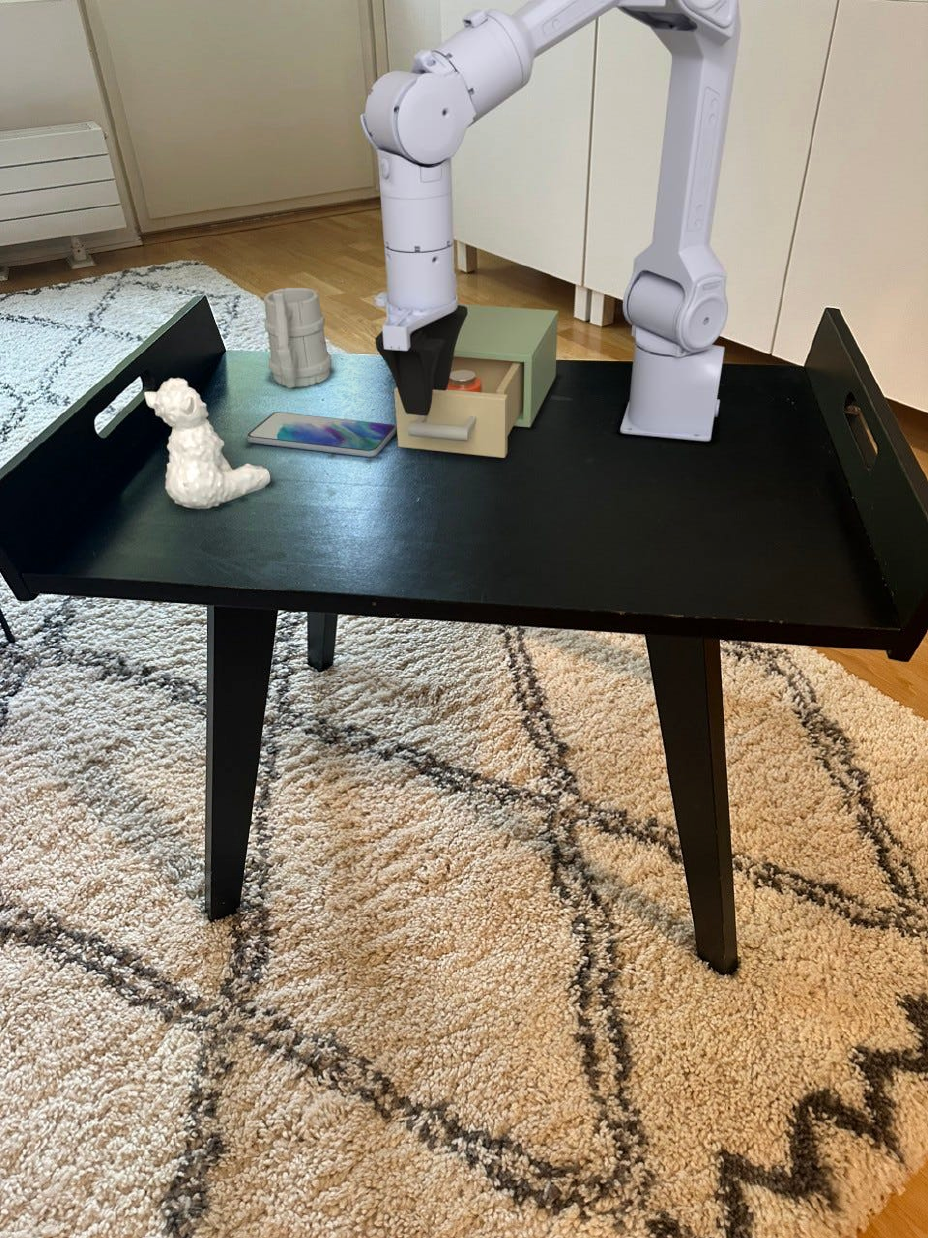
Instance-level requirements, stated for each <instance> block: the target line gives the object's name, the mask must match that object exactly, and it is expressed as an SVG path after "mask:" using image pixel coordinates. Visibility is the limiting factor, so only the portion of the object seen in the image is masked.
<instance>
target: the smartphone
mask: <svg viewBox="0 0 928 1238" xmlns="http://www.w3.org/2000/svg"><path fill="white" fill-rule="evenodd" d="M396 434H397V425H395V424H391V423H383V422H373V421H365V420H357V419H356V420H355V419H348V418H347V419H346V418H337V417H329V416H319V415H312V414H311V415H310V414H301V413H293V412H282V411H275V412H272V413H271V414H269V415H268V416H266V418H264V419H263V420H262V421H261V422H260V423H258V424H257V426H255V427H254V428H252V429H251V430H250V431H249V432H248V433H247V434H246V441H247V442H248V443H251V444H258V445H267V446H274V447H283V448H292V449H301V450H307V451H315V452H325V453H332V454H336V455H345V456H353V457H361V458H374V457H376V456H377V455H378V454H379V453H380V452H381V451H382V450H383V449H384V447H385V446H386V445H387V444H388V443H389V442H390V440H391V439H392V438H393V437H394V436H395V435H396Z"/></svg>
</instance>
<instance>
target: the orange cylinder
mask: <svg viewBox="0 0 928 1238" xmlns="http://www.w3.org/2000/svg"><path fill="white" fill-rule="evenodd" d="M447 390H458V391H469V392H480V393H482V382H481V380H480V379H479V378H477V377H476V375H475V373H474V372H472V371H468V370H458V371H453V372H451V373H450V379H449V383H448V387H447Z"/></svg>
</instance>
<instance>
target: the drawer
mask: <svg viewBox="0 0 928 1238" xmlns="http://www.w3.org/2000/svg"><path fill="white" fill-rule="evenodd" d="M458 370H468V371H472V372H474V373H475V375H476V377H477V378H479V379H480V380H481V382H482V393H480V392H469V391H458V390H447V389H446V390H445V391H443V390H433V395H432V403H431V408H430V412H429V414H428V415H426V416H424V415H414V414H406V412H405V410H404V407H403V404H402V401H401V398H400V395H399V392H398V389H397V386H396V387H395V388H394V389H393V392H394V393H393V394H394V404H395V405H394V407H395V418H396V419H395V421H396V429H397V431H396V435H397V446H398V447H399V448H406V449H416V450H426V451H437V452H444V453H453V454H464V455H473V456H481V457H490V458H491V457H492V458H501V459H505V458H506V457H507V454H508V437H509V436H510V433H511V431H512V430H513V427H514V426H513V425H514V424H515V422H516V420H517V418H518V416H519V414H520V412H521V411H522V409H523V407H524V362H516V361H504V360H491V359H479V358H467V357H454V356H453V361H452V367H451V372H453V371H458Z"/></svg>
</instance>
